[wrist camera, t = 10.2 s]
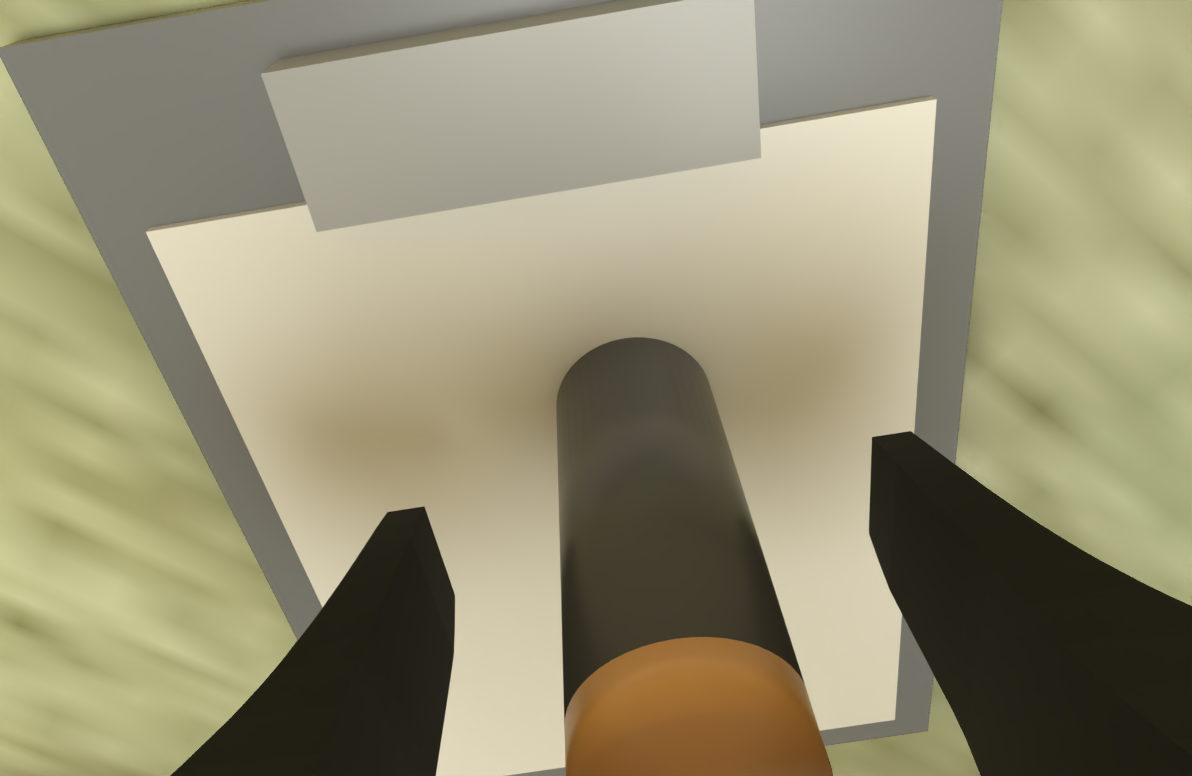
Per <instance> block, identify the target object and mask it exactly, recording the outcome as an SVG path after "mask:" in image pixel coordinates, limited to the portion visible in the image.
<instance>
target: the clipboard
mask: <svg viewBox="0 0 1192 776" xmlns="http://www.w3.org/2000/svg"><path fill="white" fill-rule="evenodd" d="M1002 2H1003V0H249V1H243V2H237V3H232V4H226V5H220V6H215V7H209V8H204V9H198V10H192V11H187V12H181V13H175V14H170V15H164V16H158V17H153V18H147V19H141V20H136V21H130V22H124V23H119V24H113V25H107V26H102V27H96V28H90V29H85V30H79V31H73V32H68V33H62V34H56V35H51V36H45V37H39V38H34V39H28V40H22V41H17V42H14V43H12V44H9V45H6V46H3V47H0V57H1V59H2V61H3V63H4V65H5V67H6V69H7V71H8V73H9V75H10V77H11V79H12V81H13V83H14V85H15V87H16V89H17V91H18V93H19V95H20V97H21V98H22V100H23V102H24V104H25V106H26V108H27V110H28V112H29V114H30V116H31V118H32V120H33V122H34V124H35V126H36V128H37V130H38V132H39V134H40V136H41V138H42V140H43V142H44V144H45V146H46V148H47V149H48V151H49V153H50V155H51V157H52V159H53V161H54V163H55V165H56V167H57V169H58V171H59V173H60V175H61V177H62V179H63V181H64V183H65V185H66V187H67V189H68V191H69V193H70V195H71V197H72V199H73V200H74V202H75V204H76V206H77V208H78V210H79V212H80V214H81V216H82V218H83V220H84V222H85V224H86V226H87V228H88V230H89V232H90V234H91V236H92V238H93V240H94V242H95V244H96V246H97V248H98V250H99V251H100V253H101V255H102V257H103V259H104V261H105V263H106V265H107V267H108V269H109V271H110V273H111V275H112V277H113V279H114V281H115V283H116V285H117V287H118V289H119V291H120V293H121V295H122V297H123V299H124V301H125V302H126V304H127V306H128V308H129V310H130V312H131V314H132V316H133V318H134V320H135V322H136V324H137V326H138V328H139V330H140V332H141V334H142V336H143V338H144V340H145V342H146V344H147V346H148V348H149V350H150V352H151V353H152V355H153V357H154V359H155V361H156V363H157V365H158V367H159V369H160V371H161V373H162V375H163V377H164V379H165V381H166V383H167V385H168V387H169V389H170V391H171V393H172V395H173V397H174V399H175V401H176V403H177V404H178V406H179V408H180V410H181V412H182V414H183V416H184V418H185V420H186V422H187V424H188V426H189V428H190V430H191V432H192V434H193V436H194V438H195V440H196V442H197V444H198V446H199V448H200V450H201V452H202V454H203V456H204V457H205V459H206V461H207V463H208V465H209V467H210V469H211V471H212V473H213V475H214V477H215V479H216V481H217V483H218V485H219V487H220V489H221V491H222V493H223V495H224V497H225V499H226V501H227V503H228V505H229V507H230V508H231V510H232V512H233V514H234V516H235V518H236V520H237V522H238V524H239V526H240V528H241V530H242V532H243V534H244V536H245V538H246V540H247V542H248V544H249V546H250V548H251V550H252V552H253V554H254V556H255V558H256V559H257V561H258V563H259V565H260V567H261V569H262V571H263V573H264V575H265V577H266V579H267V581H268V583H269V585H270V587H271V589H272V591H273V593H274V595H275V597H276V599H277V601H278V603H279V605H280V607H281V609H282V610H283V612H284V614H285V616H286V618H287V620H288V622H289V624H290V626H291V628H292V630H293V632H294V634H295V636H296V638H297V640H298V639H299V638H300V637H301V636H302V634H303V633H304V632H305V630H306V629H307V628H308V627H309V625H310V624H311V623H312V621H313V620H314V619H315V617H316V616H317V615H318V613H319V612H320V610H321V609H322V608H323V606H324V605H325V603H326V602H327V600H328V599H329V598H330V596H331V595H332V593H333V592H334V590H335V589H336V588H337V586H338V585H339V583H340V582H341V580H342V579H343V578H344V576H345V575H346V573H347V572H348V570H349V569H350V567H351V566H352V564H353V563H354V561H355V560H356V558H357V557H358V555H359V554H360V552H361V551H362V549H363V547H364V546H365V544H366V543H367V541H368V540H369V538H370V537H371V535H372V534H373V532H374V531H375V529H376V528H377V526H378V525H379V523H380V522H381V520H382V519H383V517H384V516H385V515H386V514H387V512H391V511H398V510H404V509H411V508H417V507H424V506H425V509H426V512H427V515H428V518H429V521H430V524H431V527H432V530H433V533H434V535H435V538H436V541H437V544H438V547H439V550H440V553H441V556H442V559H443V562H444V565H445V567H446V570H447V573H448V576H449V579H450V582H451V585H452V588H453V591H454V594H455V638H454V657H453V665H452V672H451V678H450V685H449V692H448V699H447V706H446V712H445V719H444V725H443V732H442V738H441V745H440V751H439V758H438V764H437V771H436V776H566V773H565V733H564V694H563V654H562V615H561V575H560V536H559V496H558V457H557V417H556V401H557V395H558V391H559V388H560V385H561V383H562V381H563V379H564V377H565V375H566V374H567V372H568V371H569V369H570V368H571V367H572V366H573V365H574V364H575V363H576V362H577V360H579V359H580V358H581V357H582V356H584V355H585V354H586V353H588V352H589V351H591V350H593V349H594V348H596V347H598V346H600V345H603V344H605V343H608V342H611V341H614V340H619V339H623V338H633V337H645V338H653V339H658V340H662V341H666V342H668V343H671V344H673V345H676V346H677V347H679V348H681V349H683V350H684V351H686V352H687V353H688V354H690V355H691V356H692V357H693V358H694V359H695V360H696V361H697V362H698V363H699V365H700V366H701V367H702V369H703V370H704V372H705V374H706V376H707V378H708V381H709V384H710V387H711V390H712V394H713V397H714V400H715V403H716V406H717V409H718V413H719V416H720V419H721V422H722V425H723V428H724V431H725V435H726V438H727V441H728V444H729V447H730V450H731V453H732V457H733V460H734V463H735V466H736V469H737V472H738V475H739V479H740V482H741V485H742V488H743V491H744V494H745V498H746V501H747V504H748V507H749V510H750V513H751V516H752V520H753V523H754V526H755V529H756V532H757V535H758V538H759V542H760V545H761V548H762V551H763V554H764V557H765V561H766V564H767V567H768V570H769V573H770V576H771V579H772V583H773V586H774V589H775V592H776V595H777V598H778V601H779V605H780V608H781V611H782V614H783V617H784V620H785V623H786V627H787V630H788V633H789V636H790V639H791V642H792V646H793V649H794V652H795V655H796V658H797V661H798V664H799V668H800V671H801V674H802V677H803V680H804V683H805V686H806V690H807V693H808V696H809V699H810V702H811V705H812V709H813V712H814V715H815V718H816V721H817V724H818V727H819V731H820V734H821V737H822V740H823V743H824V746H827V745H834V744H841V743H848V742H855V741H862V740H869V739H876V738H883V737H890V736H897V735H904V734H911V733H918V732H925V731H928V724H929V714H930V704H931V694H932V685H933V675H934V674H933V672H932V670H931V668H930V666H929V665H928V663H927V661H926V659H925V657H924V655H923V653H922V651H921V649H920V648H919V646H918V644H917V642H916V640H915V638H914V636H913V634H912V632H911V630H910V628H909V627H908V625H907V623H906V621H905V619H904V617H903V615H902V613H901V611H900V609H899V607H898V605H897V603H896V601H895V599H894V597H893V595H892V594H891V592H890V590H889V587H888V584H887V582H886V579H885V577H884V574H883V571H882V569H881V566H880V564H879V561H878V558H877V555H876V552H875V549H874V547H873V544H872V541H871V538H870V535H869V510H870V480H871V450H872V437H875V436H882V435H888V434H895V433H901V432H908V431H911V432H913V433H914V434H915V435H917V436H918V437H919V438H921V439H922V440H923V441H925V442H926V443H927V444H929V445H930V446H931V447H933V448H934V449H935V450H937V451H938V452H939V453H941V454H942V455H943V456H945V457H946V458H947V459H949V460H950V461H951V462H952V463H954V464H955V460H956V451H957V441H958V431H959V422H960V412H961V402H962V392H963V383H964V373H965V363H966V353H967V344H968V334H969V324H970V314H971V305H972V295H973V285H974V275H975V266H976V256H977V246H978V236H979V227H980V217H981V207H982V197H983V188H984V178H985V168H986V158H987V149H988V139H989V129H990V119H991V110H992V100H993V90H994V80H995V71H996V61H997V51H998V41H999V32H1000V22H1001V12H1002Z"/></svg>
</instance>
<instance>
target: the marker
mask: <svg viewBox="0 0 1192 776" xmlns="http://www.w3.org/2000/svg"><path fill="white" fill-rule="evenodd" d="M556 417H557V457H558V496H559V536H560V575H561V615H562V654H563V694H564V733H565V773H566V776H833V774H832V768H831V765H830V762H829V759H828V756H827V753H826V749H825V746H824V743H823V740H822V737H821V734H820V731H819V727H818V724H817V721H816V718H815V715H814V712H813V709H812V705H811V702H810V699H809V696H808V693H807V690H806V686H805V683H804V680H803V677H802V674H801V671H800V668H799V664H798V661H797V658H796V655H795V652H794V649H793V646H792V642H791V639H790V636H789V633H788V630H787V627H786V623H785V620H784V617H783V614H782V611H781V608H780V605H779V601H778V598H777V595H776V592H775V589H774V586H773V583H772V579H771V576H770V573H769V570H768V567H767V564H766V561H765V557H764V554H763V551H762V548H761V545H760V542H759V538H758V535H757V532H756V529H755V526H754V523H753V520H752V516H751V513H750V510H749V507H748V504H747V501H746V498H745V494H744V491H743V488H742V485H741V482H740V479H739V475H738V472H737V469H736V466H735V463H734V460H733V457H732V453H731V450H730V447H729V444H728V441H727V438H726V435H725V431H724V428H723V425H722V422H721V419H720V416H719V413H718V409H717V406H716V403H715V400H714V397H713V394H712V390H711V387H710V384H709V381H708V378H707V376H706V374H705V372H704V370H703V369H702V367H701V366H700V365H699V363H698V362H697V361H696V360H695V359H694V358H693V357H692V356H691V355H690V354H688V353H687V352H686V351H684V350H683V349H681V348H679V347H677V346H676V345H673V344H671V343H668V342H666V341H662V340H658V339H653V338H645V337H633V338H623V339H619V340H614V341H611V342H608V343H605V344H603V345H600V346H598V347H596V348H594V349H593V350H591V351H589V352H588V353H586V354H585V355H584V356H582V357H581V358H580V359H579V360H577V362H576V363H575V364H574V365H573V366H572V367H571V368H570V369H569V371H568V372H567V374H566V375H565V377H564V379H563V381H562V383H561V385H560V388H559V391H558V395H557V401H556Z"/></svg>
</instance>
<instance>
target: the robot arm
mask: <svg viewBox="0 0 1192 776" xmlns="http://www.w3.org/2000/svg"><path fill="white" fill-rule="evenodd" d="M869 535H870V538H871V541H872V544H873V547H874V549H875V552H876V555H877V558H878V561H879V564H880V566H881V569H882V571H883V574H884V577H885V579H886V582H887V584H888V587H889V590H890V592H891V594H892V595H893V597H894V599H895V601H896V603H897V605H898V607H899V609H900V611H901V613H902V615H903V617H904V619H905V621H906V623H907V625H908V627H909V628H910V630H911V632H912V634H913V636H914V638H915V640H916V642H917V644H918V646H919V648H920V649H921V651H922V653H923V655H924V657H925V659H926V661H927V663H928V665H929V666H930V668H931V670H932V672H933V674H934V676H935V678H936V680H937V682H938V684H939V685H940V687H941V689H942V691H943V693H944V695H945V697H946V699H947V701H948V703H949V704H950V706H951V708H952V710H953V712H954V714H955V716H956V719H957V721H958V723H959V725H960V727H961V729H962V731H963V733H964V735H965V738H966V740H967V742H968V745H969V747H970V750H971V752H972V755H973V757H974V760H975V762H976V765H977V767H978V770H979V772H980V775H981V776H1192V606H1190V605H1188V604H1186V603H1184V602H1181V601H1179V600H1177V599H1175V598H1173V597H1170V596H1168V595H1166V594H1164V593H1162V592H1160V591H1158V590H1156V589H1154V588H1152V587H1150V586H1148V585H1146V584H1144V583H1142V582H1140V581H1138V580H1136V579H1134V578H1132V577H1130V576H1128V575H1127V574H1125V573H1123V572H1121V571H1119V570H1117V569H1115V568H1113V567H1112V566H1110V565H1108V564H1106V563H1104V562H1102V561H1100V560H1098V559H1097V558H1095V557H1093V556H1091V555H1090V554H1088V553H1086V552H1084V551H1083V550H1081V549H1079V548H1078V547H1076V546H1074V545H1073V544H1071V543H1069V542H1068V541H1066V540H1064V539H1063V538H1061V537H1060V536H1058V535H1056V534H1055V533H1053V532H1052V531H1050V530H1048V529H1047V528H1045V527H1044V526H1042V525H1040V524H1039V523H1037V522H1036V521H1034V520H1033V519H1031V518H1030V517H1028V516H1027V515H1025V514H1024V513H1022V512H1021V511H1019V510H1018V509H1016V508H1015V507H1013V506H1012V505H1010V504H1009V503H1007V502H1006V501H1005V500H1003V499H1002V498H1000V497H999V496H997V495H996V494H995V493H993V492H992V491H990V490H989V489H988V488H986V487H985V486H983V485H982V484H981V483H979V482H978V481H977V480H975V479H974V478H973V477H971V476H970V475H969V474H967V473H966V472H964V471H963V470H962V469H960V468H959V467H958V466H956V465H955V464H954V463H952V462H951V461H950V460H949V459H947V458H946V457H945V456H943V455H942V454H941V453H939V452H938V451H937V450H935V449H934V448H933V447H931V446H930V445H929V444H927V443H926V442H925V441H923V440H922V439H921V438H919V437H918V436H917V435H915V434H914V433H913V432H911V431H908V432H901V433H895V434H888V435H882V436H875V437H872V450H871V480H870V510H869ZM454 638H455V594H454V591H453V588H452V585H451V582H450V579H449V576H448V573H447V570H446V567H445V565H444V562H443V559H442V556H441V553H440V550H439V547H438V544H437V541H436V538H435V535H434V533H433V530H432V527H431V524H430V521H429V518H428V515H427V512H426V509H425V506H424V507H417V508H411V509H404V510H398V511H391V512H387V514H386V515H385V516H384V517H383V519H382V520H381V522H380V523H379V525H378V526H377V528H376V529H375V531H374V532H373V534H372V535H371V537H370V538H369V540H368V541H367V543H366V544H365V546H364V547H363V549H362V551H361V552H360V554H359V555H358V557H357V558H356V560H355V561H354V563H353V564H352V566H351V567H350V569H349V570H348V572H347V573H346V575H345V576H344V578H343V579H342V580H341V582H340V583H339V585H338V586H337V588H336V589H335V590H334V592H333V593H332V595H331V596H330V598H329V599H328V600H327V602H326V603H325V605H324V606H323V608H322V609H321V610H320V612H319V613H318V615H317V616H316V617H315V619H314V620H313V621H312V623H311V624H310V625H309V627H308V628H307V629H306V630H305V632H304V633H303V634H302V636H301V637H300V638H299V639H298V641H297V642H296V643H295V645H294V646H293V647H292V648H291V650H290V651H289V652H288V654H287V655H286V656H285V658H284V659H283V660H282V661H281V662H280V664H279V665H278V666H277V667H276V668H275V670H274V671H273V672H272V673H271V674H270V676H269V677H268V678H267V679H266V680H265V681H264V683H263V684H262V685H261V686H260V687H259V688H258V689H257V690H256V691H255V692H254V694H253V695H252V696H251V697H250V698H249V699H248V700H247V701H246V702H245V703H244V704H243V706H242V707H241V708H240V709H239V710H238V711H237V712H236V713H235V714H234V715H233V716H232V717H231V718H230V719H229V720H228V721H227V722H226V723H225V724H224V725H223V726H222V727H221V728H220V729H219V730H218V731H217V732H216V733H215V734H214V735H213V736H212V737H211V738H210V739H209V740H207V741H206V742H205V743H204V744H203V745H202V746H201V747H200V748H199V749H198V750H197V751H196V752H195V753H194V754H193V755H192V756H191V757H190V758H189V759H188V760H187V761H186V762H185V763H184V764H183V765H182V766H180V767H179V768H178V769H177V770H176V771H175V772H174V773H173V774H172V775H170V776H436V771H437V764H438V758H439V751H440V745H441V738H442V732H443V725H444V719H445V712H446V706H447V699H448V692H449V685H450V678H451V672H452V665H453V657H454Z"/></svg>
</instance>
